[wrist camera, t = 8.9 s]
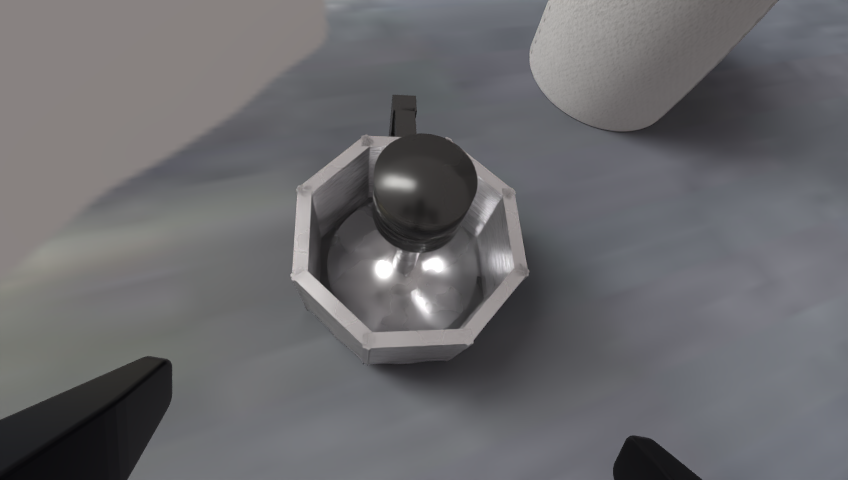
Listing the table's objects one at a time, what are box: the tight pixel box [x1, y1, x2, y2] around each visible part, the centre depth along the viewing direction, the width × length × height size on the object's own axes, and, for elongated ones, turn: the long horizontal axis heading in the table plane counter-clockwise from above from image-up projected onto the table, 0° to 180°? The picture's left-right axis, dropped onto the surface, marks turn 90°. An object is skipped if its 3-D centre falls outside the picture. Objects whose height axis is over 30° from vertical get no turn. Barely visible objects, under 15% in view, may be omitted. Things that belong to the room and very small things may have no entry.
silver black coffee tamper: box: [327, 134, 478, 332], centre depth 18 cm, size 8×8×9 cm
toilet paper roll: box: [529, 0, 779, 131], centre depth 27 cm, size 12×12×12 cm
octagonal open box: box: [290, 95, 529, 366], centre depth 21 cm, size 13×10×6 cm
